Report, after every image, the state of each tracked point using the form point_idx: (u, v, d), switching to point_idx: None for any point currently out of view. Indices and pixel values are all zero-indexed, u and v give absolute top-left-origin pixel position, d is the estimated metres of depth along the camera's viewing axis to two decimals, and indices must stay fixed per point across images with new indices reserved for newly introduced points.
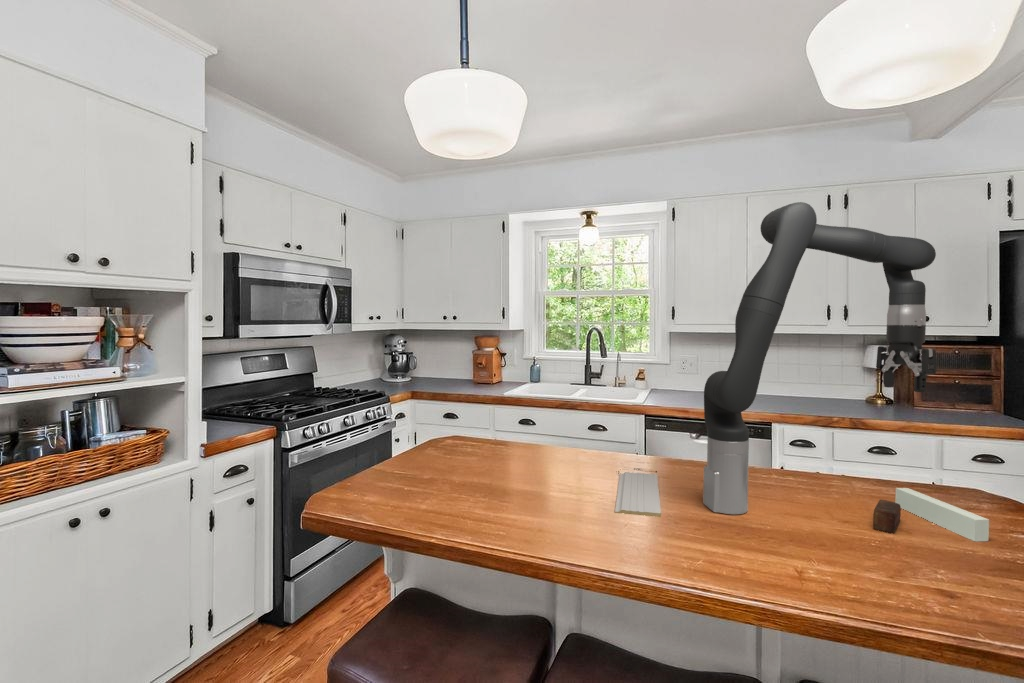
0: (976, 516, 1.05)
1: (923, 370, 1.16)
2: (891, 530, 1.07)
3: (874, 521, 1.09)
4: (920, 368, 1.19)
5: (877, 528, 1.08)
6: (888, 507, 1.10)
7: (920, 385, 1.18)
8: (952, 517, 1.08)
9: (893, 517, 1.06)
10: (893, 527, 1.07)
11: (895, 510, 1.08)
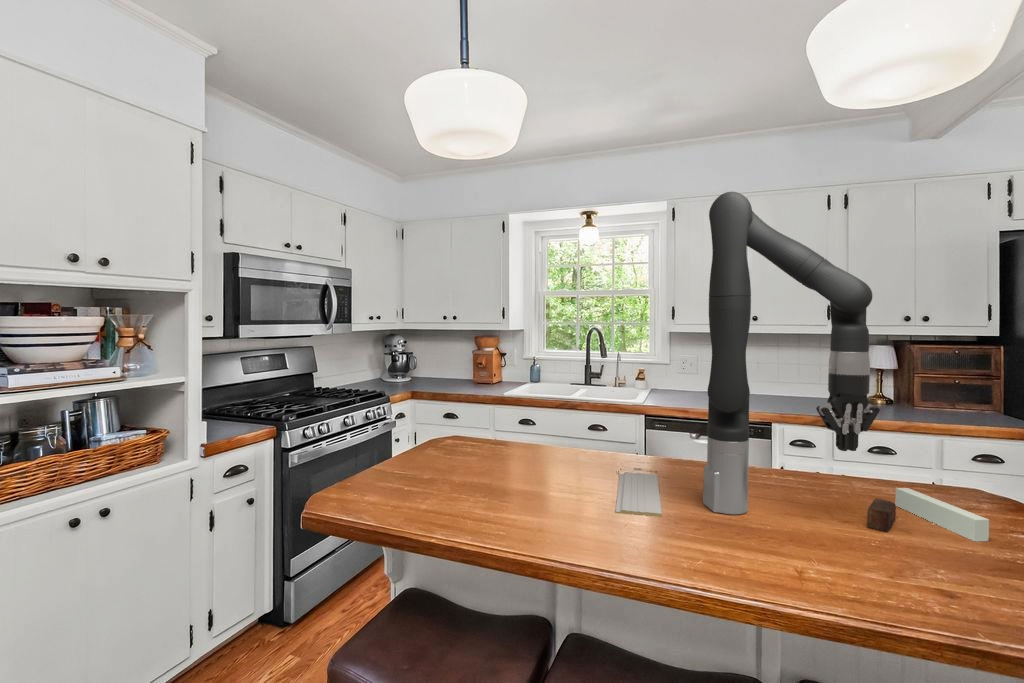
0: (976, 516, 1.05)
1: (866, 427, 1.09)
2: (885, 529, 1.08)
3: (868, 520, 1.10)
4: (850, 422, 1.11)
5: (871, 527, 1.09)
6: (882, 506, 1.11)
7: (857, 443, 1.10)
8: (952, 517, 1.08)
9: (887, 516, 1.07)
10: (887, 526, 1.07)
11: (889, 509, 1.09)
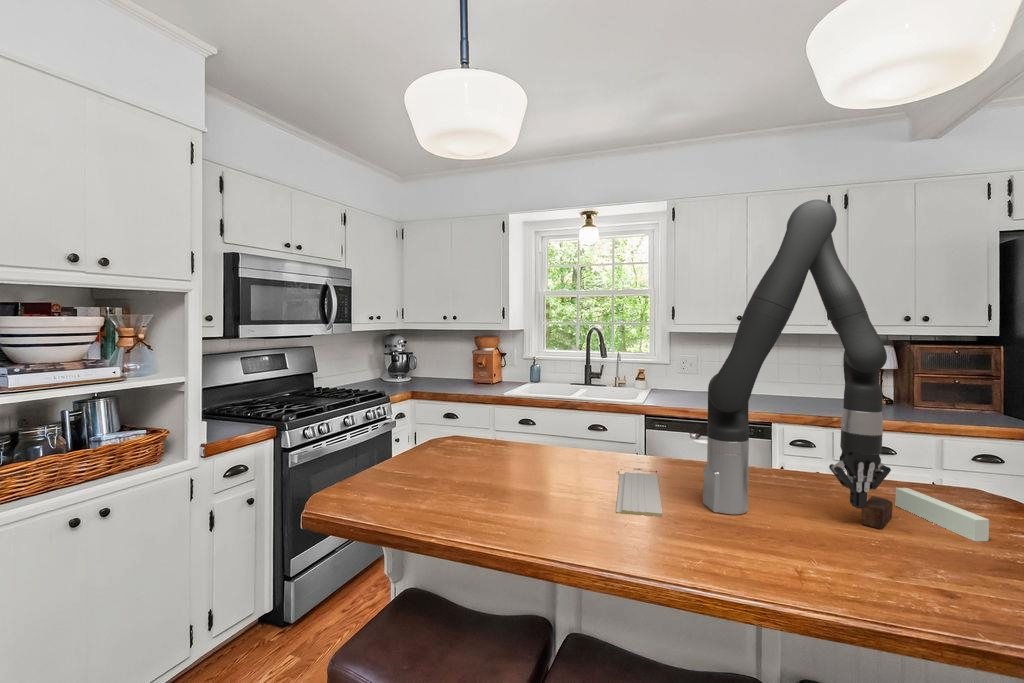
0: (976, 516, 1.05)
1: (875, 485, 1.10)
2: (879, 525, 1.09)
3: (862, 516, 1.11)
4: None
5: (865, 523, 1.11)
6: (877, 503, 1.12)
7: (865, 500, 1.10)
8: (952, 517, 1.08)
9: (880, 513, 1.09)
10: (880, 522, 1.09)
11: (884, 506, 1.10)
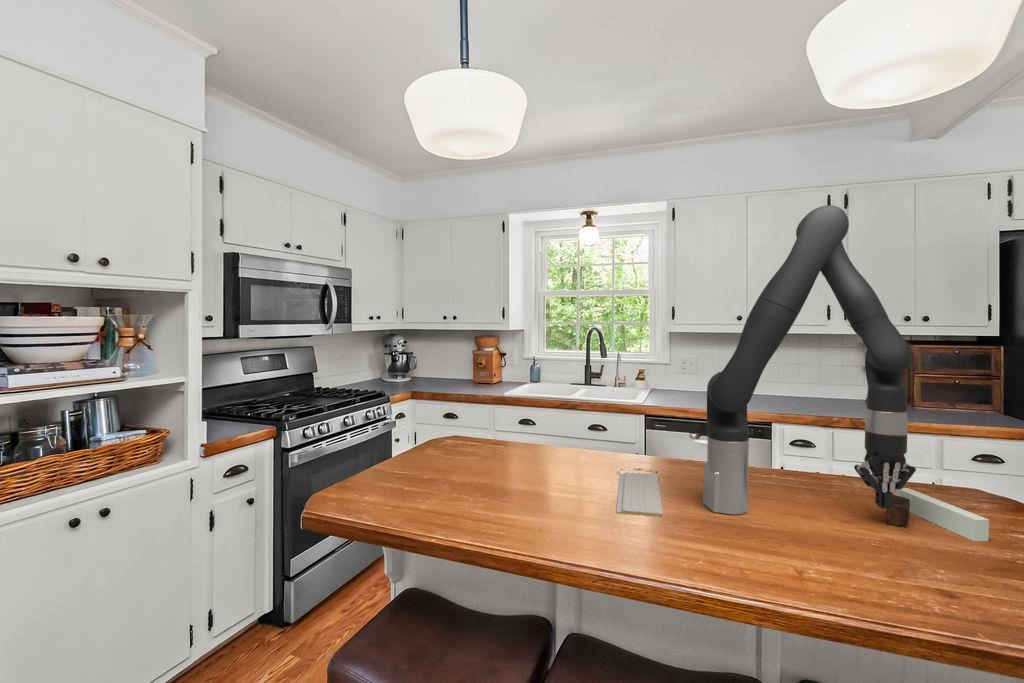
0: (976, 516, 1.05)
1: (900, 485, 1.10)
2: (904, 524, 1.10)
3: (887, 516, 1.12)
4: None
5: (890, 523, 1.11)
6: (899, 502, 1.13)
7: (891, 501, 1.11)
8: (952, 517, 1.08)
9: (906, 512, 1.09)
10: (906, 522, 1.09)
11: (907, 505, 1.11)
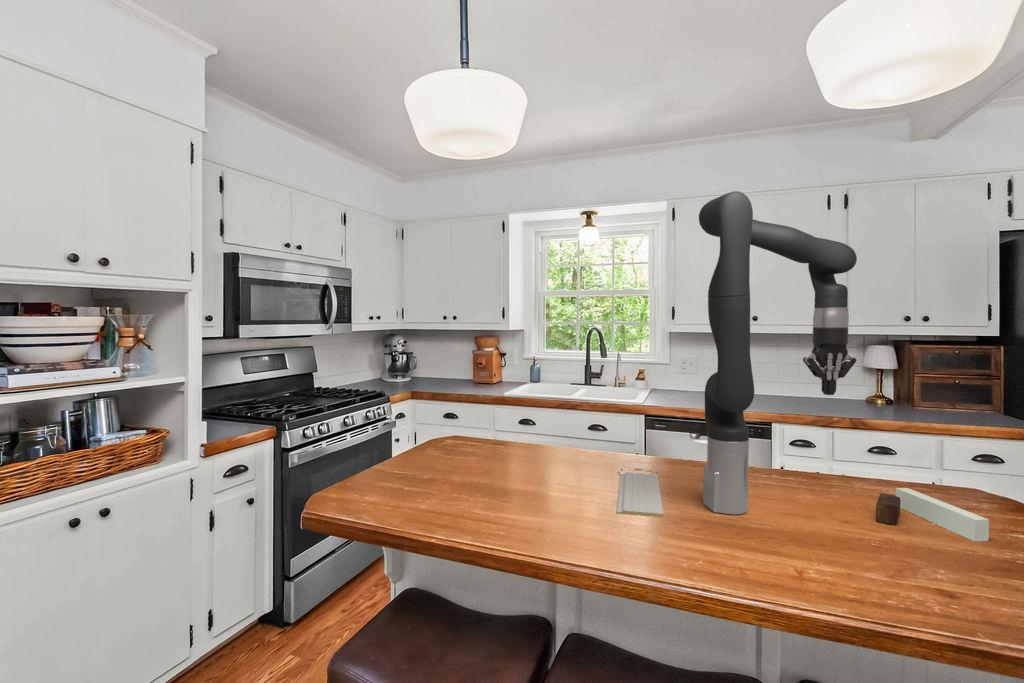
0: (976, 516, 1.05)
1: (843, 374, 1.25)
2: (893, 522, 1.11)
3: (877, 514, 1.13)
4: None
5: (880, 520, 1.12)
6: (889, 500, 1.14)
7: (835, 388, 1.26)
8: (952, 517, 1.08)
9: (895, 510, 1.11)
10: (895, 519, 1.11)
11: (896, 503, 1.13)
